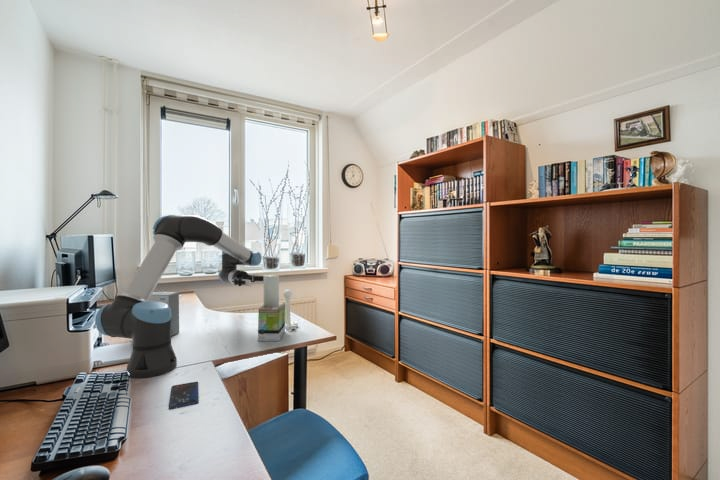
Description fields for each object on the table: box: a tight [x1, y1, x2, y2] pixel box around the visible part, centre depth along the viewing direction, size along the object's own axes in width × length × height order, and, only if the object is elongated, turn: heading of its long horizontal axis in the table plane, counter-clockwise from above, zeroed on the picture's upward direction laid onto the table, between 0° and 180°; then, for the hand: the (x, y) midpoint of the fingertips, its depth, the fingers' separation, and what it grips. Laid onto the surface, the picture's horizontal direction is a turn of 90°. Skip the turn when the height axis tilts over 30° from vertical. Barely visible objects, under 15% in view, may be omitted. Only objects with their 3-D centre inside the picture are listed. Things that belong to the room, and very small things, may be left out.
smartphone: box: [168, 381, 200, 410], centre depth 98 cm, size 8×1×15 cm
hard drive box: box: [148, 291, 180, 337], centre depth 155 cm, size 16×8×20 cm, turn 84°
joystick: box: [283, 289, 299, 331], centre depth 169 cm, size 11×8×20 cm
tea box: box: [257, 302, 286, 342], centre depth 155 cm, size 15×10×15 cm, turn 3°
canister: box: [263, 274, 280, 307], centre depth 155 cm, size 7×7×14 cm
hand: (262, 281), depth 159 cm, fingers open, 13 cm apart
